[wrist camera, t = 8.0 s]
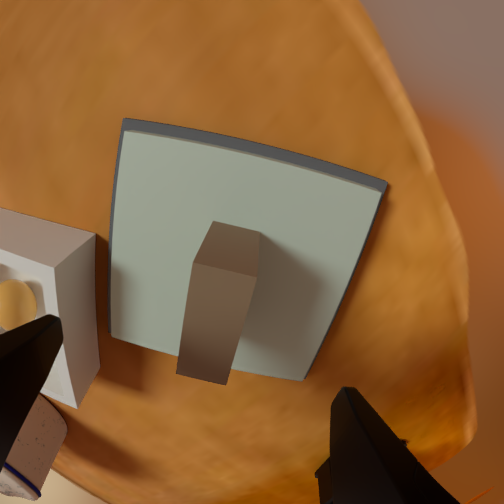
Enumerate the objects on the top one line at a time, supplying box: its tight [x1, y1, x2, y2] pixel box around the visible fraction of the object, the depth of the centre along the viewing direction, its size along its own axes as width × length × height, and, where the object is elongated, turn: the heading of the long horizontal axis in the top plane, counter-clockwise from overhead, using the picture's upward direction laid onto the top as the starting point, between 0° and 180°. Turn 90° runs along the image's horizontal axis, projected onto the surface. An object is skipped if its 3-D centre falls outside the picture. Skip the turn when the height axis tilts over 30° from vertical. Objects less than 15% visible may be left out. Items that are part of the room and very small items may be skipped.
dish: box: [0, 208, 100, 409], centre depth 15 cm, size 10×10×4 cm
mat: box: [108, 118, 388, 379], centre depth 15 cm, size 12×12×1 cm
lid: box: [111, 130, 382, 385], centre depth 13 cm, size 11×11×5 cm
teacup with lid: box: [0, 394, 67, 501], centre depth 18 cm, size 12×9×12 cm
